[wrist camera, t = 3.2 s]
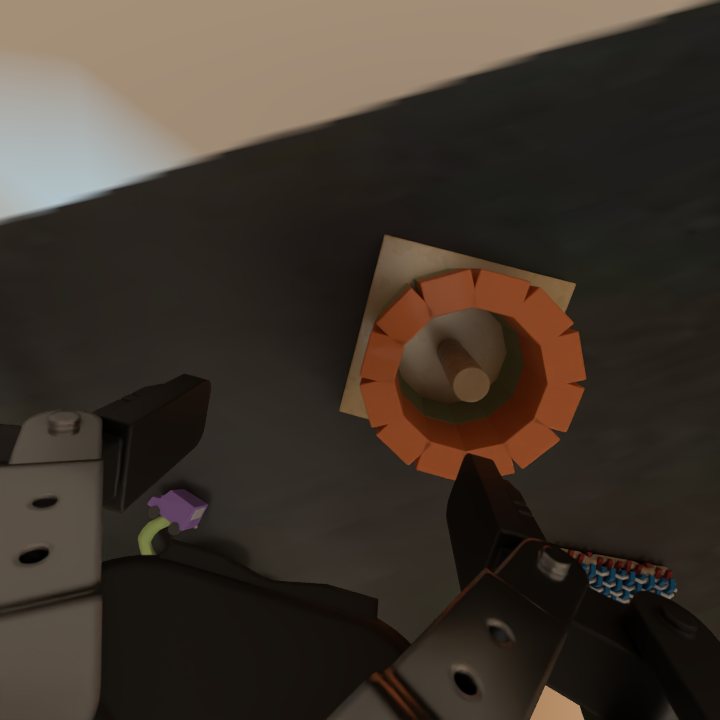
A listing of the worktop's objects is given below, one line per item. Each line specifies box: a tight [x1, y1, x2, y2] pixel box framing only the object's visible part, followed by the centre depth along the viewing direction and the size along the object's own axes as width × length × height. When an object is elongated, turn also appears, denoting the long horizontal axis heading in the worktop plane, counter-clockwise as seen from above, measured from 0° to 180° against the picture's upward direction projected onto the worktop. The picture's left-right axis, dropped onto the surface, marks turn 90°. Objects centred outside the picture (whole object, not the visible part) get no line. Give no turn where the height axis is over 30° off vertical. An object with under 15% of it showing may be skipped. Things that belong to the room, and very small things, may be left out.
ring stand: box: [339, 234, 576, 419], centre depth 26 cm, size 14×14×10 cm
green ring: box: [374, 268, 524, 424], centre depth 27 cm, size 12×12×4 cm
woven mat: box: [561, 548, 677, 606], centre depth 34 cm, size 10×11×2 cm
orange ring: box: [359, 268, 586, 480], centre depth 23 cm, size 12×12×4 cm
